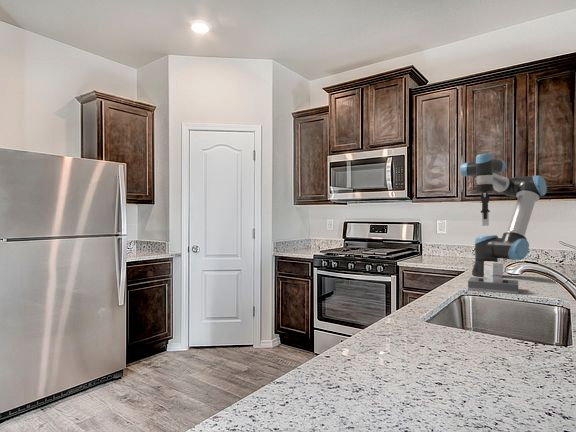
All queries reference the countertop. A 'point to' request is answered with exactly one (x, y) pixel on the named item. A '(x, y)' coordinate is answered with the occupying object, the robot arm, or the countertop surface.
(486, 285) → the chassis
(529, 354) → the countertop surface
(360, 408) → the countertop surface
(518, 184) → the robot arm
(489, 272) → the ink box
